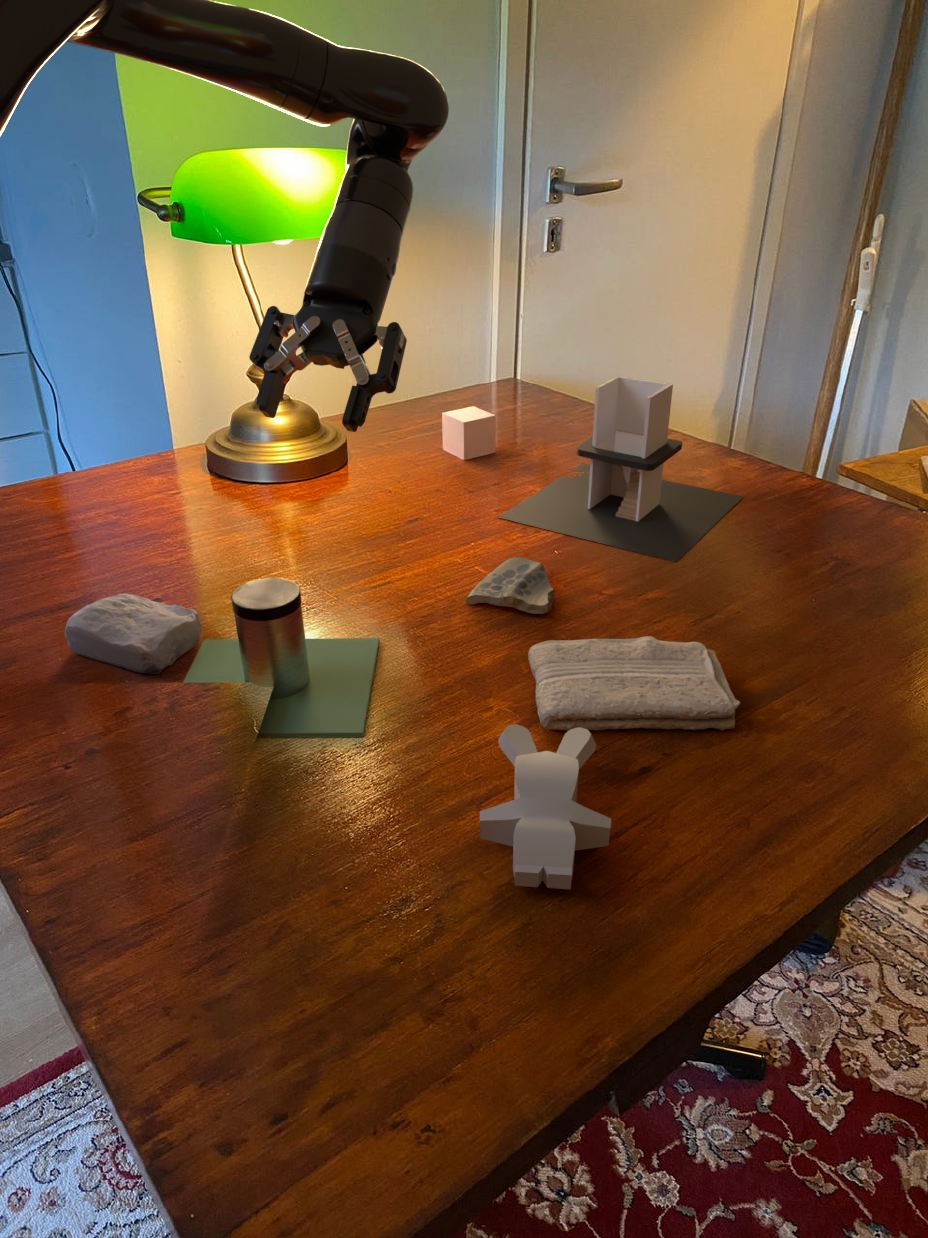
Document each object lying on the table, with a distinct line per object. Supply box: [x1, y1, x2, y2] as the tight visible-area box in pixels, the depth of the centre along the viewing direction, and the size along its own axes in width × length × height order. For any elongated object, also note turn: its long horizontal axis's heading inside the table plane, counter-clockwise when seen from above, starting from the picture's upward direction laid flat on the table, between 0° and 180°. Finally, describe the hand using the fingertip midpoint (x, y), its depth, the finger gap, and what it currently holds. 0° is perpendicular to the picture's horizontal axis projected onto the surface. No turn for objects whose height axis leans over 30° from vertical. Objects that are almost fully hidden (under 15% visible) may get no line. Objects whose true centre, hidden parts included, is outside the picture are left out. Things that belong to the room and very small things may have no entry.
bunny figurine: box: [479, 723, 612, 890], centre depth 68 cm, size 10×5×15 cm
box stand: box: [497, 375, 744, 563], centre depth 119 cm, size 25×24×16 cm
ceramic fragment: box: [465, 556, 555, 615], centre depth 101 cm, size 11×3×10 cm
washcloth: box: [527, 635, 742, 732], centre depth 83 cm, size 12×18×3 cm, turn 91°
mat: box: [182, 637, 381, 739], centre depth 86 cm, size 18×16×1 cm
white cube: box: [441, 405, 497, 461], centre depth 142 cm, size 6×6×6 cm
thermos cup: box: [230, 577, 310, 699], centre depth 84 cm, size 6×6×10 cm
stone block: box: [64, 593, 203, 676], centre depth 92 cm, size 12×5×10 cm
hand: (307, 421), depth 84 cm, fingers open, 8 cm apart
